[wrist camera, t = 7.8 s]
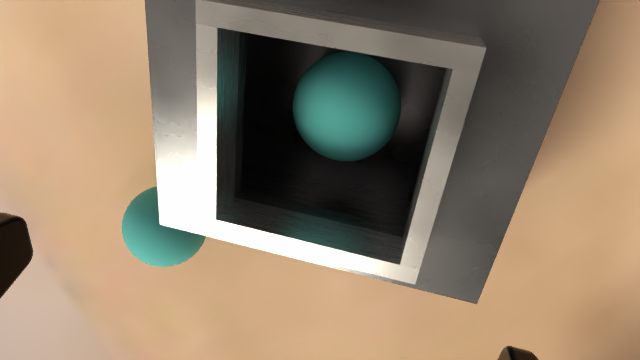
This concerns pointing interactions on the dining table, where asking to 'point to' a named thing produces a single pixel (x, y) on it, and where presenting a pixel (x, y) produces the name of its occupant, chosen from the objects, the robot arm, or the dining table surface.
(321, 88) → the bead
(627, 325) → the dining table surface
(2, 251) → the robot arm
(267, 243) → the open metal box
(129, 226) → the bead
